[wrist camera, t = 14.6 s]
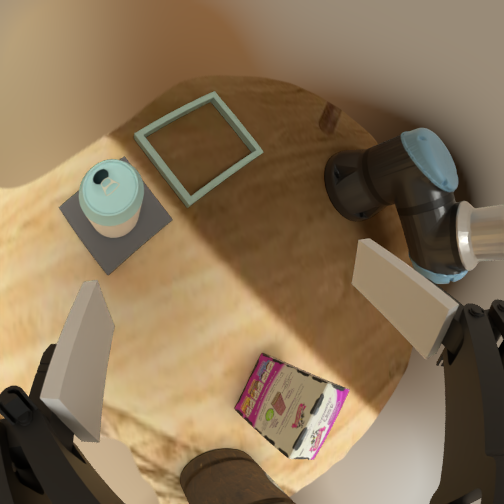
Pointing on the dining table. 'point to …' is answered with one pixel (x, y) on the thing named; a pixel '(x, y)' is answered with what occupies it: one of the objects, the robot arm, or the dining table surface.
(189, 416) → the dining table surface
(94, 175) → the can
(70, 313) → the robot arm
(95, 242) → the coaster
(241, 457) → the wooden container
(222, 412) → the dining table surface
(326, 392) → the candy bar box
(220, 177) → the corral
